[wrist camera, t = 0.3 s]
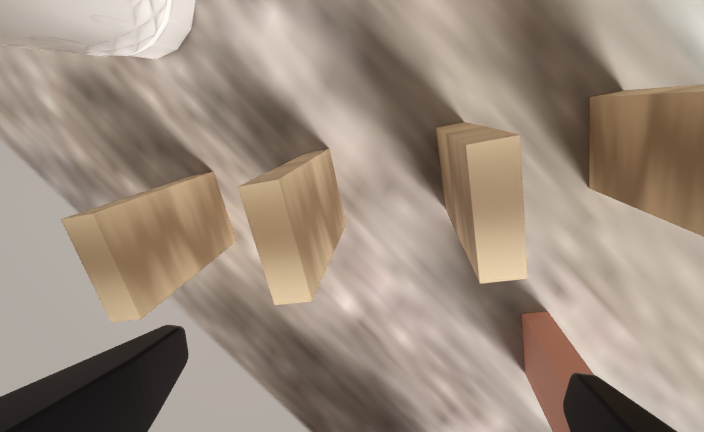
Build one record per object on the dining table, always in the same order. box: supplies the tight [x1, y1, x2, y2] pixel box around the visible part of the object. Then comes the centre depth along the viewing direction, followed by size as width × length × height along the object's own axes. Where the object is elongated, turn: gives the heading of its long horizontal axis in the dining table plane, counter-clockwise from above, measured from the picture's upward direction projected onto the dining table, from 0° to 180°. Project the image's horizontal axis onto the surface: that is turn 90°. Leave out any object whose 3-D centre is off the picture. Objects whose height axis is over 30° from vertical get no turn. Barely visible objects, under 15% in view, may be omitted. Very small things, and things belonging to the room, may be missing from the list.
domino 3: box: [436, 122, 528, 284], centre depth 15 cm, size 5×2×9 cm, turn 12°
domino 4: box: [522, 311, 594, 432], centre depth 18 cm, size 5×2×9 cm, turn 12°
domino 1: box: [61, 172, 236, 322], centre depth 18 cm, size 5×2×9 cm, turn 12°
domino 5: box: [589, 85, 704, 236], centre depth 14 cm, size 5×2×9 cm, turn 12°
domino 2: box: [238, 149, 346, 305], centre depth 17 cm, size 5×2×9 cm, turn 12°
